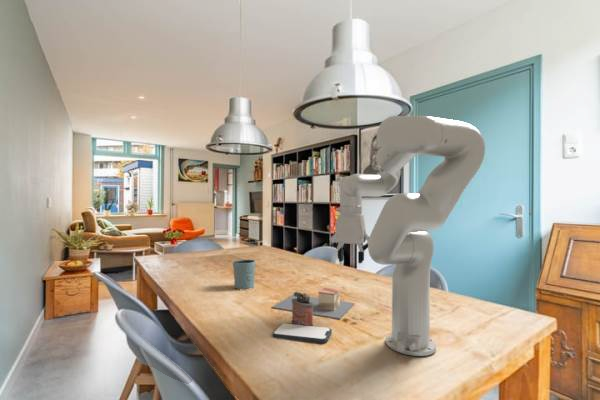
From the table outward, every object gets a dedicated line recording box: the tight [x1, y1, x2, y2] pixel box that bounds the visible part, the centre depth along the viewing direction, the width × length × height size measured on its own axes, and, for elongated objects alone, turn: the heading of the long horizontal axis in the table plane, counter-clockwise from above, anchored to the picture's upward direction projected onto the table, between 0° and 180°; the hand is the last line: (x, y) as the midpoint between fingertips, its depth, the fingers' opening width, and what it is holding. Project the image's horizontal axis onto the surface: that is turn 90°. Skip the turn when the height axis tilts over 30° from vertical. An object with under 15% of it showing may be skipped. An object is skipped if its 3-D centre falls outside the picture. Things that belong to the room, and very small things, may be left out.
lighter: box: [291, 291, 314, 326], centre depth 96 cm, size 8×3×10 cm, turn 47°
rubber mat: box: [271, 294, 356, 320], centre depth 115 cm, size 18×26×1 cm
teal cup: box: [232, 259, 256, 290], centre depth 141 cm, size 10×10×12 cm
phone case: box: [271, 323, 333, 345], centre depth 90 cm, size 9×2×16 cm
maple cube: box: [318, 287, 341, 311], centre depth 113 cm, size 6×6×6 cm
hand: (350, 261), depth 110 cm, fingers open, 6 cm apart
